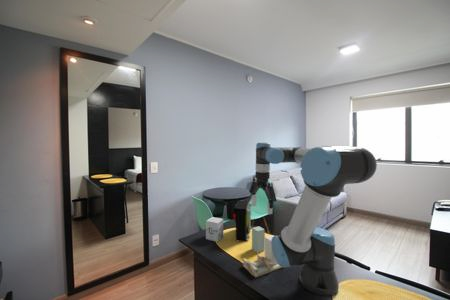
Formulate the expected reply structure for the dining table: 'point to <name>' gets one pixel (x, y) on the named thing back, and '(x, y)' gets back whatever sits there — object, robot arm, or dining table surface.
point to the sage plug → (258, 239)
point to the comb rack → (260, 266)
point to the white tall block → (269, 250)
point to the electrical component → (242, 220)
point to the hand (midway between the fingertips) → (261, 209)
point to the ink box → (214, 229)
